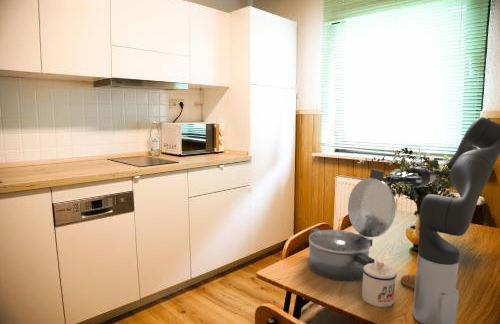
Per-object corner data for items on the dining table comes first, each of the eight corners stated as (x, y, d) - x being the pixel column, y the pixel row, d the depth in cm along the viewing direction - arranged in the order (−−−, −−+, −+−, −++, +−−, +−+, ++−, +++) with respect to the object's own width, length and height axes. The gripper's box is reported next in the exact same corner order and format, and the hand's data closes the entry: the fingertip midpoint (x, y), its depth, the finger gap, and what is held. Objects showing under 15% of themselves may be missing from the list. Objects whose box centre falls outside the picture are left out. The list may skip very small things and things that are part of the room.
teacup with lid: (381, 311, 92) (384, 271, 91) (354, 296, 100) (356, 259, 98) (406, 299, 99) (410, 261, 97) (379, 285, 106) (382, 250, 105)
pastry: (400, 288, 106) (402, 276, 105) (400, 278, 112) (400, 267, 111) (434, 294, 102) (436, 282, 102) (431, 284, 108) (433, 273, 108)
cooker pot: (398, 280, 110) (400, 251, 108) (342, 294, 101) (344, 262, 99) (337, 246, 137) (339, 222, 136) (289, 254, 128) (290, 229, 127)
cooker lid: (384, 246, 112) (393, 246, 114) (400, 175, 110) (408, 176, 112) (343, 226, 131) (351, 226, 133) (355, 165, 129) (363, 166, 131)
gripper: (408, 164, 135) (375, 166, 128) (439, 169, 123) (404, 172, 116) (406, 182, 136) (373, 185, 129) (437, 190, 124) (402, 193, 117)
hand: (388, 179), depth 123 cm, fingers closed
